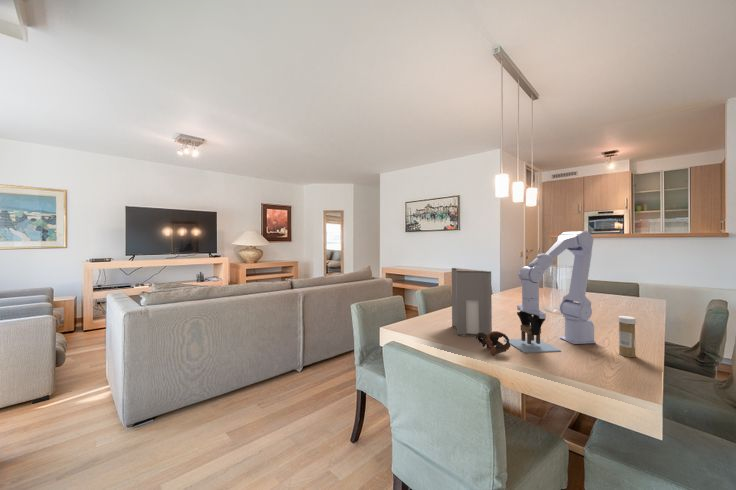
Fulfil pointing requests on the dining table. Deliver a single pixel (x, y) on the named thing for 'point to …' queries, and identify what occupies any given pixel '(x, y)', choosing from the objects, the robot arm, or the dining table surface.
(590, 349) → the dining table surface
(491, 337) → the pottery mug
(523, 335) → the walnut stool
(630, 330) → the sprinkles bottle
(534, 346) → the felt mat
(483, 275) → the cabinet
